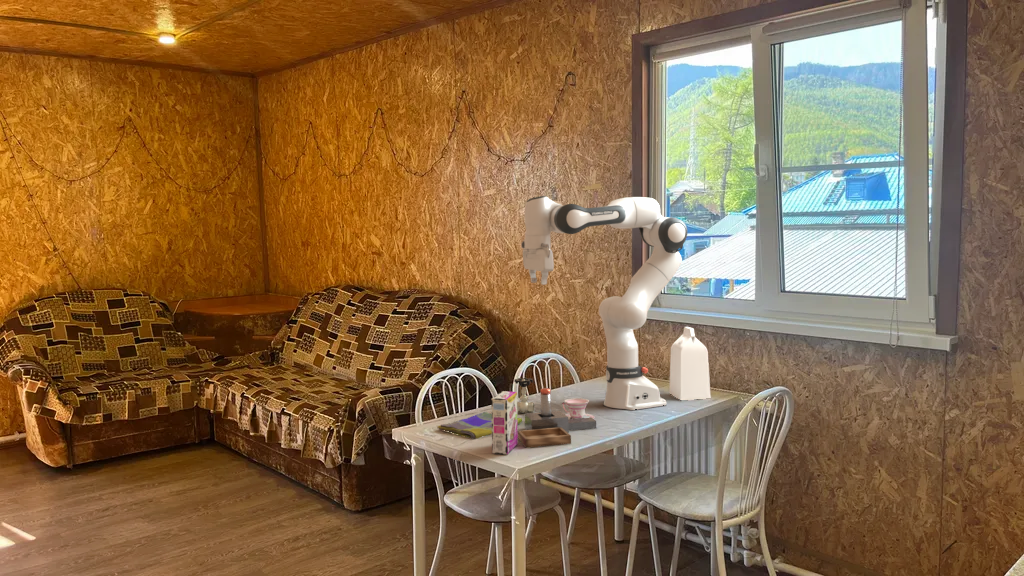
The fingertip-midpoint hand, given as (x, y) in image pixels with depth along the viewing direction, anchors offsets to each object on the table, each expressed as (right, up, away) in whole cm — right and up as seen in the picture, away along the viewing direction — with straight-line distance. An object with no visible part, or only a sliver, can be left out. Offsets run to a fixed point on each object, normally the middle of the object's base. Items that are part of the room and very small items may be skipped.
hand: (538, 283), depth 267 cm
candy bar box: (-11, -49, -39) cm, 64 cm away
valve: (-5, -46, +5) cm, 46 cm away
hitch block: (+7, -47, -18) cm, 51 cm away
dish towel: (-20, -48, -13) cm, 54 cm away
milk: (+57, -43, +23) cm, 75 cm away
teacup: (+13, -46, -5) cm, 48 cm away
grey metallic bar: (+2, -47, -19) cm, 51 cm away
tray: (+1, -48, -32) cm, 58 cm away
